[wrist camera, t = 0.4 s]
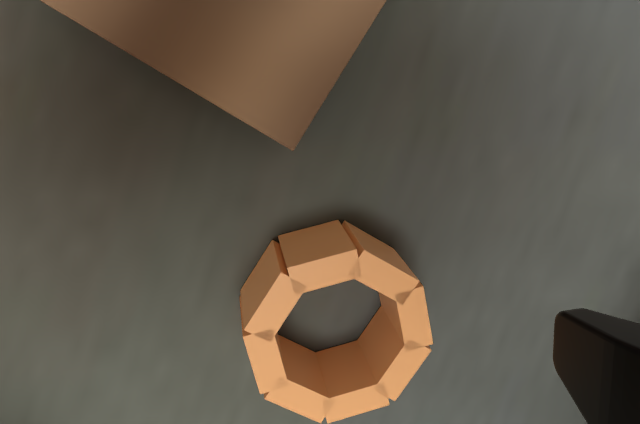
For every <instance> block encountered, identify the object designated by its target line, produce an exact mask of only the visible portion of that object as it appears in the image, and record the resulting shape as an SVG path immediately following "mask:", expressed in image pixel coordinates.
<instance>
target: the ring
mask: <svg viewBox="0 0 640 424" xmlns="http://www.w3.org/2000/svg"><path fill="white" fill-rule="evenodd" d="M278 239H279V243H278V242H276V241H274V240H272V241H271V242H270V244H269V246H268V247H267V249H266V250H265V252H264V253H263V255H262V257H261V258H260V260H259V261H258V263H257V265H256V266H255V268H254V269H253V271H252V273H251V274H250V276H249V277H248V279H247V280H246V282H245V284H244V285H243V287H242V288H241V290H240V292H241V296H240V308H241V320H242V332H243V339H244V342H245V346H246V349H247V352H248V355H249V359H250V362H251V365H252V369H253V372H254V375H255V379H256V382H257V385H258V389H259V392H260V394H263V393H264V398H265V399H266V400H268V401H270V402H273V403H275V404H277V405H280V406H282V407H284V408H287V409H289V410H291V411H293V412H296V413H298V414H300V415H303V416H305V417H307V418H310V419H312V420H314V421H317V422H319V423H321V422H322V421H323V419H324V418H325V416H326V420H327V423H331V422H334V421H337V420H341V419H344V418H347V417H351V416H354V415H357V414H361V413H364V412H367V411H371V410H374V409H378V408H381V407H384V406H388V405H389V400H388V398H390V399H392V400H394V401H395V400H396V399H397V398H398V396H399V395H400V393H401V392H402V391H403V389H404V388H405V386H406V385H407V384H408V382H409V381H410V380H411V378H412V377H413V375H414V374H415V373H416V371H417V370H418V368H419V367H420V366H421V364H422V363H423V361H424V360H425V359H426V357H427V356H428V354H429V353H430V352H431V349H430V347H429V346H428V345H431V344H433V340H432V334H431V328H430V322H429V316H428V311H427V305H426V299H425V293H424V287H423V285H422V284H421V283H420V281H419V280H418V278H417V277H416V276H415V275H414V273H413V272H412V271H411V270H410V268H409V267H408V266H407V265H406V263H405V262H404V261H403V260H402V258H401V257H400V256H399V255H398V253H397V252H396V251H395V250H394V248H392V247H390V246H388V245H387V244H385V243H383V242H381V241H380V240H378V239H376V238H374V237H373V236H371V235H369V234H367V233H366V232H364V231H362V230H360V229H359V228H357V227H355V226H353V225H352V224H350V223H348V222H346V221H345V220H344V222H343V223H342V225H341V224H340V222H339V220H335V221H331V222H327V223H323V224H320V225H316V226H312V227H308V228H305V229H301V230H297V231H293V232H290V233H286V234H282V235H278ZM352 279H355V280H357V281H359V282H361V283H363V284H365V285H367V286H369V287H370V288H372V289H374V290H376V291H378V292H379V297H380V302H381V306H380V308H379V309H378V311H377V312H376V314H375V315H374V317H373V318H372V320H371V321H370V322H369V324H368V325H367V327H366V328H365V330H364V331H363V333H362V334H361V336H360V337H359V338H358V340H356V341H353V342H349V343H346V344H342V345H339V346H335V347H332V348H329V349H325V350H322V351H318V352H314V351H312V350H309V349H307V348H305V347H303V346H301V345H299V344H297V343H295V342H293V341H291V340H288V339H286V338H284V337H282V336H280V335H278V333H277V332H278V330H279V329H280V327H281V325H282V324H283V322H284V321H285V319H286V318H287V316H288V315H289V313H290V312H291V310H292V309H293V307H294V306H295V304H296V303H297V301H298V299H299V298H300V296H301V295H302V293H305V292H309V291H312V290H316V289H319V288H323V287H327V286H330V285H334V284H337V283H341V282H345V281H348V280H352Z"/></svg>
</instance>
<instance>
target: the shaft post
mask: <svg viewBox="0 0 640 424" xmlns="http://www.w3.org/2000/svg"><path fill="white" fill-rule="evenodd" d="M40 1H42V2H43V3H45V4H47V5H49V6H50V7H52V8H54V9H55V10H57V11H59V12H60V13H62V14H64V15H65V16H67V17H69V18H70V19H72V20H74V21H75V22H77V23H79V24H80V25H82V26H84V27H85V28H87V29H89V30H90V31H92V32H94V33H96V34H97V35H99V36H101V37H102V38H104V39H106V40H107V41H109V42H111V43H112V44H114V45H116V46H117V47H119V48H121V49H122V50H124V51H126V52H127V53H129V54H131V55H132V56H134V57H136V58H138V59H139V60H141V61H143V62H144V63H146V64H148V65H149V66H151V67H153V68H154V69H156V70H158V71H159V72H161V73H163V74H164V75H166V76H168V77H169V78H171V79H173V80H174V81H176V82H178V83H179V84H181V85H183V86H185V87H186V88H188V89H190V90H191V91H193V92H195V93H196V94H198V95H200V96H201V97H203V98H205V99H206V100H208V101H210V102H211V103H213V104H215V105H216V106H218V107H220V108H221V109H223V110H225V111H226V112H228V113H230V114H232V115H233V116H235V117H237V118H238V119H240V120H242V121H243V122H245V123H247V124H248V125H250V126H252V127H253V128H255V129H257V130H258V131H260V132H262V133H263V134H265V135H267V136H268V137H270V138H272V139H274V140H275V141H277V142H279V143H280V144H282V145H284V146H285V147H287V148H289V149H290V150H292V151H294V149H295V147H296V146H297V144H298V142H299V141H300V139H301V138H302V136H303V134H304V133H305V131H306V129H307V128H308V126H309V125H310V123H311V121H312V120H313V118H314V117H315V115H316V113H317V112H318V110H319V108H320V107H321V105H322V104H323V102H324V100H325V99H326V97H327V96H328V94H329V92H330V91H331V89H332V87H333V86H334V84H335V83H336V81H337V79H338V78H339V76H340V75H341V73H342V71H343V70H344V68H345V66H346V65H347V63H348V62H349V60H350V58H351V57H352V55H353V53H354V52H355V50H356V49H357V47H358V45H359V44H360V42H361V41H362V39H363V37H364V36H365V34H366V32H367V31H368V29H369V28H370V26H371V24H372V23H373V21H374V20H375V18H376V16H377V15H378V13H379V11H380V10H381V8H382V7H383V5H384V3H385V2H386V0H40Z"/></svg>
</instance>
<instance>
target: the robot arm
mask: <svg viewBox="0 0 640 424" xmlns="http://www.w3.org/2000/svg"><path fill="white" fill-rule="evenodd" d="M553 361H554V366H555V369H556V371H557V373H558V375H559V377H560V378H561V380H562V382H563V383H564V385H565V387H566V388H567V390H568V392H569V393H570V395H571V397H572V398H573V400H574V402H575V403H576V405H577V407H578V408H579V410H580V412H581V413H582V415H583V417H584V418H585V420H586V422H587V424H640V324H638V323H634V322H631V321H627V320H624V319H620V318H617V317H613V316H609V315H606V314H602V313H599V312H595V311H592V310H588V309H584V308H579V309H572V310H566V311H561V312H559V313H558V314H557V315H556V318H555V324H554V345H553Z"/></svg>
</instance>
